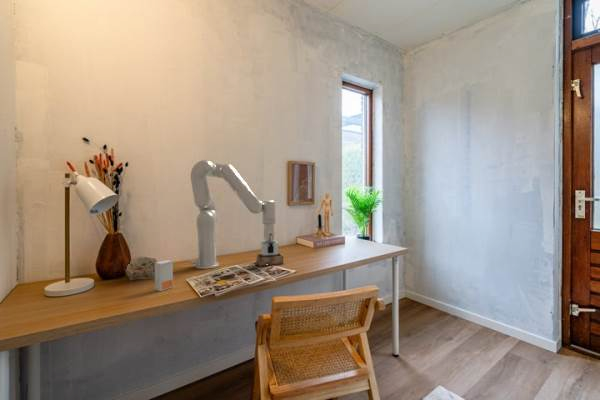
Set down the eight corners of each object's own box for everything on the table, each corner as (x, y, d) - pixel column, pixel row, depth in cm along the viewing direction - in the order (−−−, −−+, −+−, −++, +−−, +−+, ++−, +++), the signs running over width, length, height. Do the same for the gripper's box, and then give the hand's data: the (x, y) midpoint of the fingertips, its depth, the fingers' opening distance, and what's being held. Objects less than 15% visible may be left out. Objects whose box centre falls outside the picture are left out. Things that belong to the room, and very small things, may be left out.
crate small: (263, 256, 157) (262, 243, 156) (261, 253, 163) (261, 241, 162) (278, 254, 159) (278, 242, 159) (276, 252, 165) (275, 240, 165)
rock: (164, 278, 137) (159, 261, 134) (131, 292, 129) (125, 273, 126) (156, 265, 153) (151, 249, 150) (127, 276, 145) (121, 259, 142)
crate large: (259, 266, 154) (259, 258, 154) (256, 261, 164) (256, 254, 164) (283, 263, 158) (283, 256, 158) (279, 259, 168) (279, 252, 168)
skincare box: (160, 291, 116) (159, 263, 116) (155, 290, 119) (154, 262, 118) (173, 287, 121) (173, 260, 121) (168, 285, 124) (167, 259, 123)
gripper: (260, 220, 167) (260, 249, 168) (265, 223, 151) (265, 255, 151) (272, 219, 170) (272, 248, 170) (278, 222, 153) (279, 254, 154)
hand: (269, 251), depth 161 cm, fingers closed on crate small, 6 cm apart
